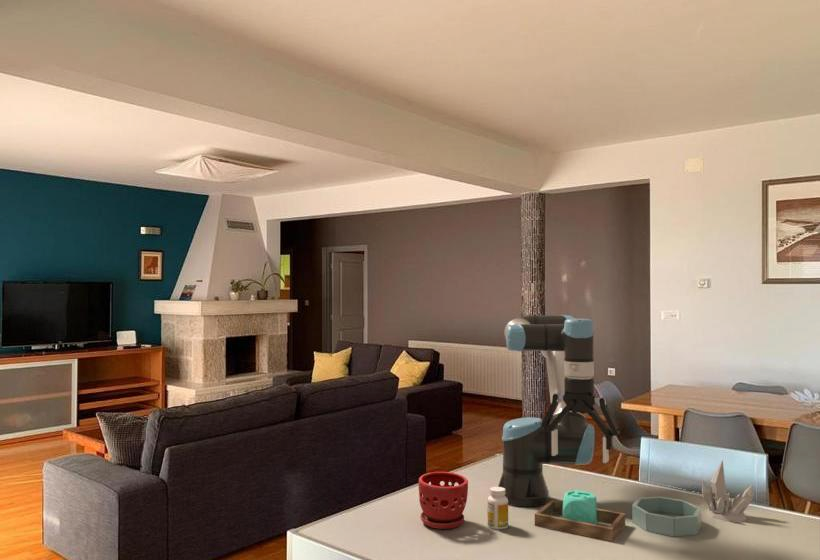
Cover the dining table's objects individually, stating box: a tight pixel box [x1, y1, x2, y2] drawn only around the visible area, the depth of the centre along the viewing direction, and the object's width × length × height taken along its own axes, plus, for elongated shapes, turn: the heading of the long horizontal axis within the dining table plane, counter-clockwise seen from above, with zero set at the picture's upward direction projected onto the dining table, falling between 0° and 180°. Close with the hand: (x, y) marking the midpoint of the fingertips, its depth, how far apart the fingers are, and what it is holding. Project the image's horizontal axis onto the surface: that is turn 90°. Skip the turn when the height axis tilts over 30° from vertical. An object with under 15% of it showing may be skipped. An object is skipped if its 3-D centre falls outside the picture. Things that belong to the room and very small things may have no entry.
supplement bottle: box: [487, 486, 509, 530], centre depth 165 cm, size 5×5×10 cm
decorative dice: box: [562, 489, 598, 525], centre depth 166 cm, size 8×8×8 cm
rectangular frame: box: [534, 499, 626, 542], centre depth 165 cm, size 20×13×3 cm, turn 57°
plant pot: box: [418, 471, 469, 530], centre depth 167 cm, size 13×13×12 cm
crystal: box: [701, 460, 755, 523], centre depth 173 cm, size 10×13×15 cm
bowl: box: [631, 495, 702, 537], centre depth 166 cm, size 16×16×4 cm
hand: (579, 458), depth 166 cm, fingers open, 13 cm apart
